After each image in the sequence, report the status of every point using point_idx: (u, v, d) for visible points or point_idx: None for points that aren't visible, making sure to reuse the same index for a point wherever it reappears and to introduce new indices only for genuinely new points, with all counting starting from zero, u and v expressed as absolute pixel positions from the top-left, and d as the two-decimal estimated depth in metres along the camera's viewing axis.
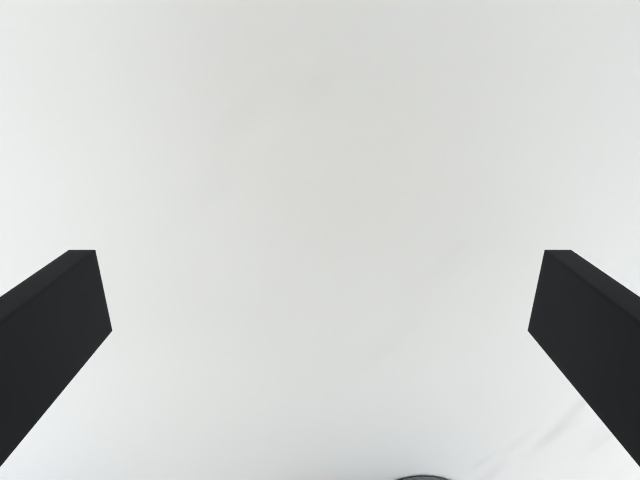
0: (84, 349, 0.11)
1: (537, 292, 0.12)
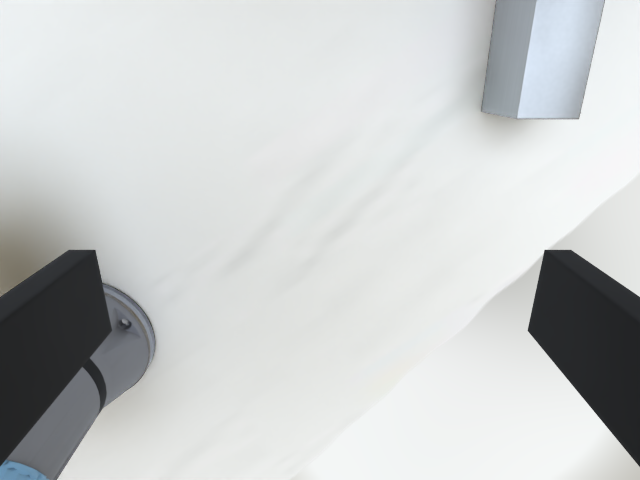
0: (84, 349, 0.11)
1: (537, 292, 0.12)
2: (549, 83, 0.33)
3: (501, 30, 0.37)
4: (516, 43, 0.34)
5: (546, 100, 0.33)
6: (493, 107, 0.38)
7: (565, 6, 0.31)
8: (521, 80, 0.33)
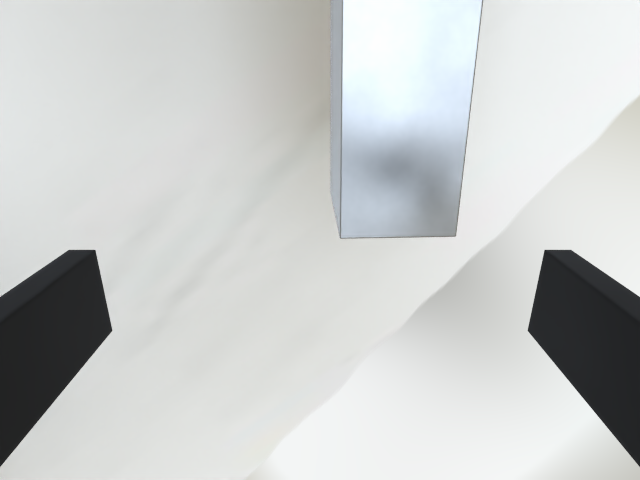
0: (84, 349, 0.11)
1: (537, 292, 0.12)
2: (392, 176, 0.17)
3: (332, 68, 0.21)
4: (337, 98, 0.18)
5: (391, 206, 0.18)
6: (333, 196, 0.22)
7: (403, 32, 0.15)
8: (340, 171, 0.17)
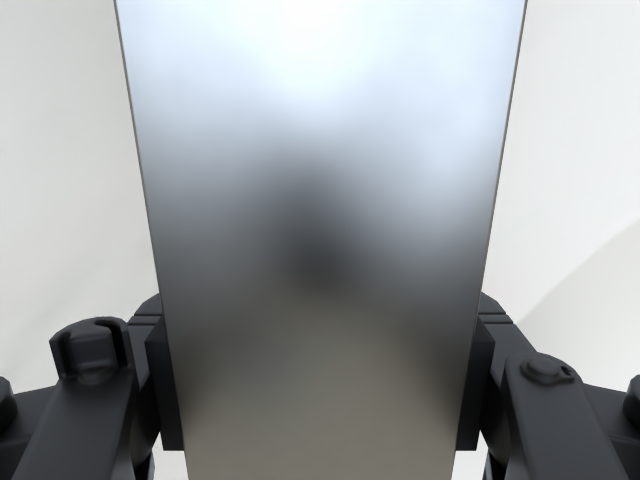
0: None
1: None
2: (297, 445, 0.08)
3: None
4: None
5: None
6: None
7: (300, 153, 0.06)
8: (183, 428, 0.08)
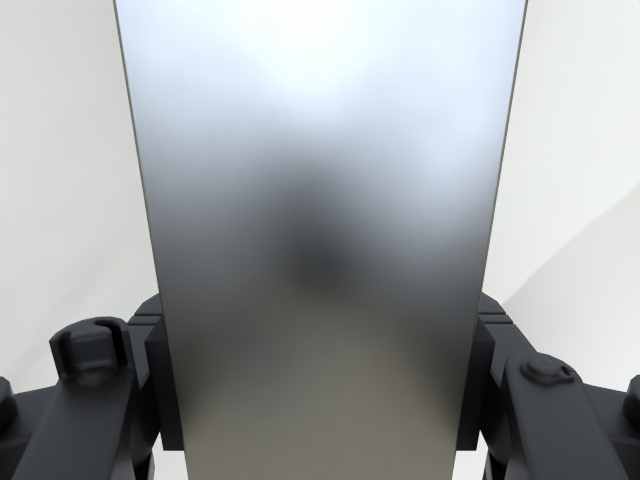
0: None
1: None
2: (297, 445, 0.08)
3: None
4: None
5: None
6: None
7: (299, 153, 0.06)
8: (183, 428, 0.08)
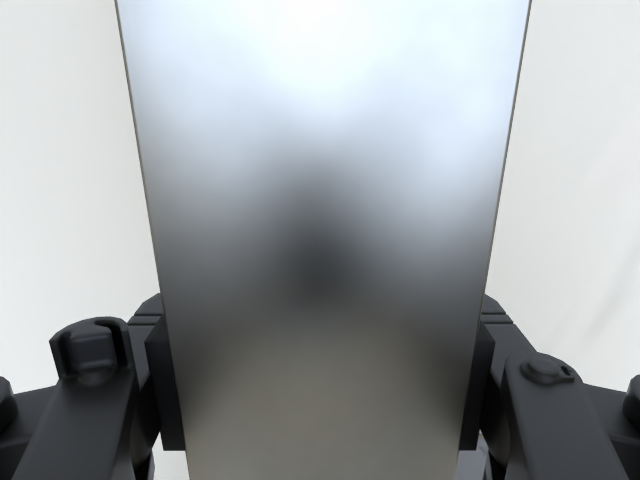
0: None
1: None
2: (299, 442, 0.08)
3: None
4: None
5: None
6: None
7: (302, 145, 0.06)
8: (184, 425, 0.08)
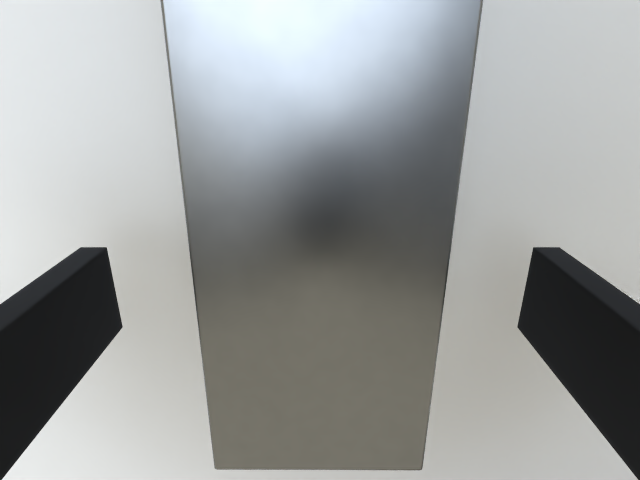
0: (96, 345, 0.12)
1: (526, 289, 0.13)
2: (300, 381, 0.09)
3: None
4: None
5: (302, 425, 0.10)
6: None
7: (305, 132, 0.07)
8: (205, 367, 0.09)
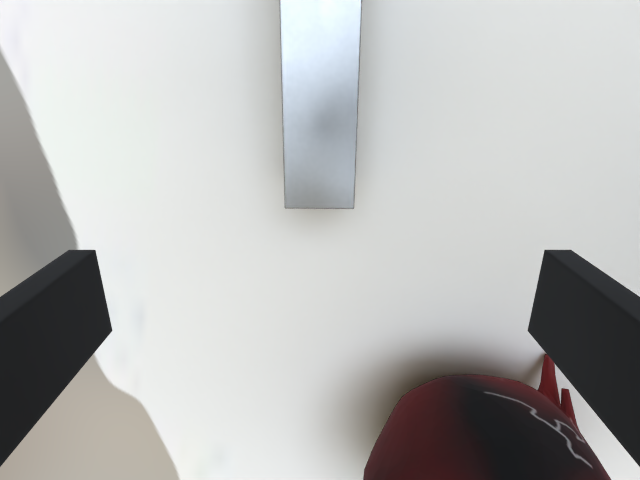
0: (84, 349, 0.11)
1: (537, 292, 0.12)
2: (313, 172, 0.30)
3: None
4: None
5: (314, 189, 0.30)
6: None
7: (315, 92, 0.28)
8: (284, 168, 0.30)
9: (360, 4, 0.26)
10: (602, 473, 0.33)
